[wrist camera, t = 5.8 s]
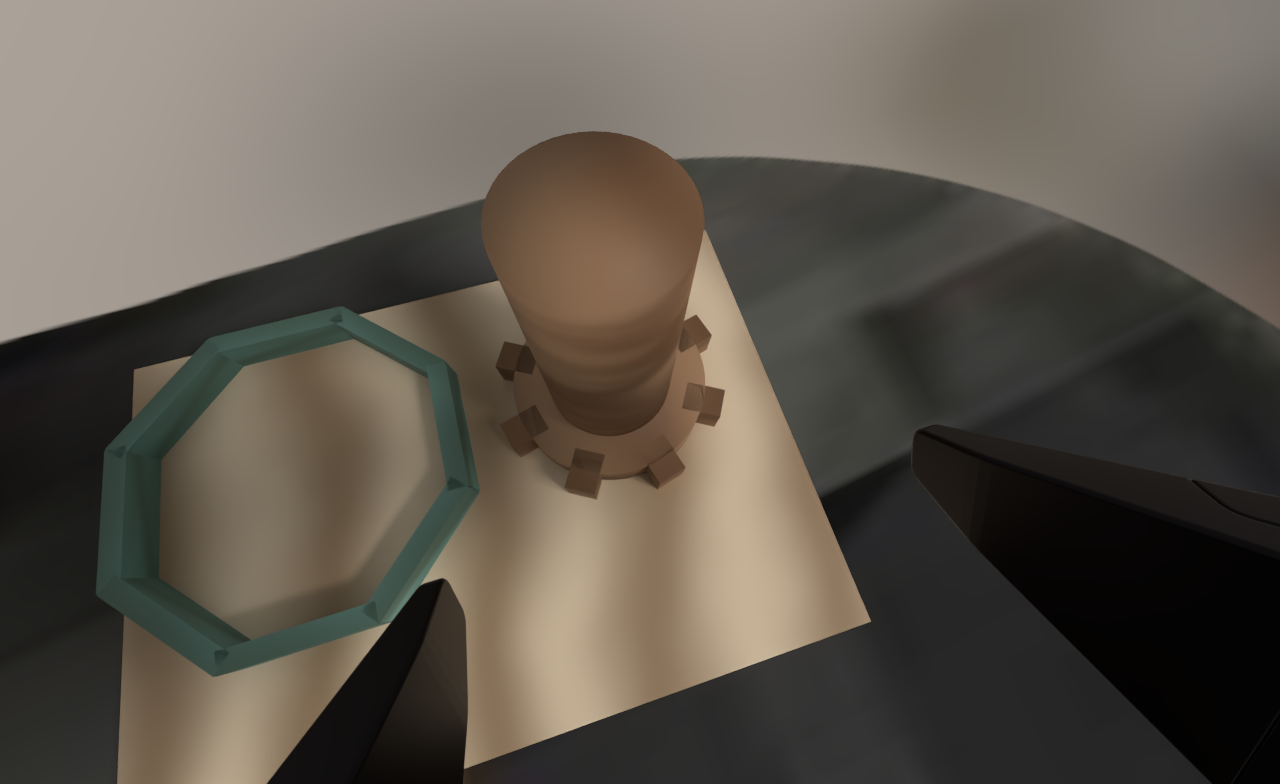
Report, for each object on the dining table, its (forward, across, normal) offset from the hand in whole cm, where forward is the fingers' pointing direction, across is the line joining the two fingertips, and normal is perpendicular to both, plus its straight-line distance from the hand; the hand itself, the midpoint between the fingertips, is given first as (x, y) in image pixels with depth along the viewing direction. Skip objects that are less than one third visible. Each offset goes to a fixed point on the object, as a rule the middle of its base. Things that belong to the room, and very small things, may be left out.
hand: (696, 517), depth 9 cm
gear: (+13, 0, +3) cm, 13 cm away
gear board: (+12, +7, +6) cm, 15 cm away
